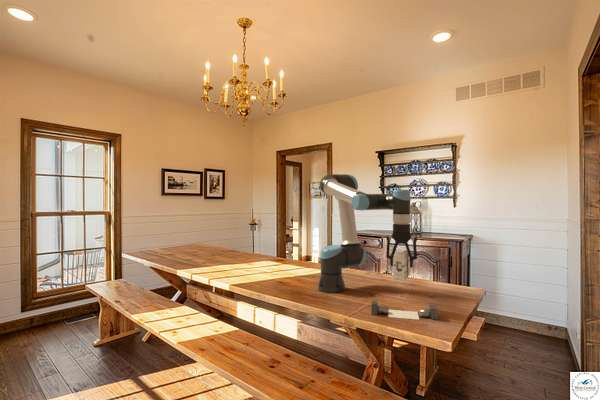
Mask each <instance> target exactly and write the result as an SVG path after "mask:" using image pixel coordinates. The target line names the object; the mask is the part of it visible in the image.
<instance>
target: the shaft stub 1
mask: <svg viewBox="0 0 600 400" xmlns="http://www.w3.org/2000/svg"><path fill="white" fill-rule="evenodd" d="M378 304H379V301H378V300H374V299H373V300H371V305H370V306H371V315H375V316H378V314H386V315H387V314H388V306H385V305H378Z"/></svg>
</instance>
